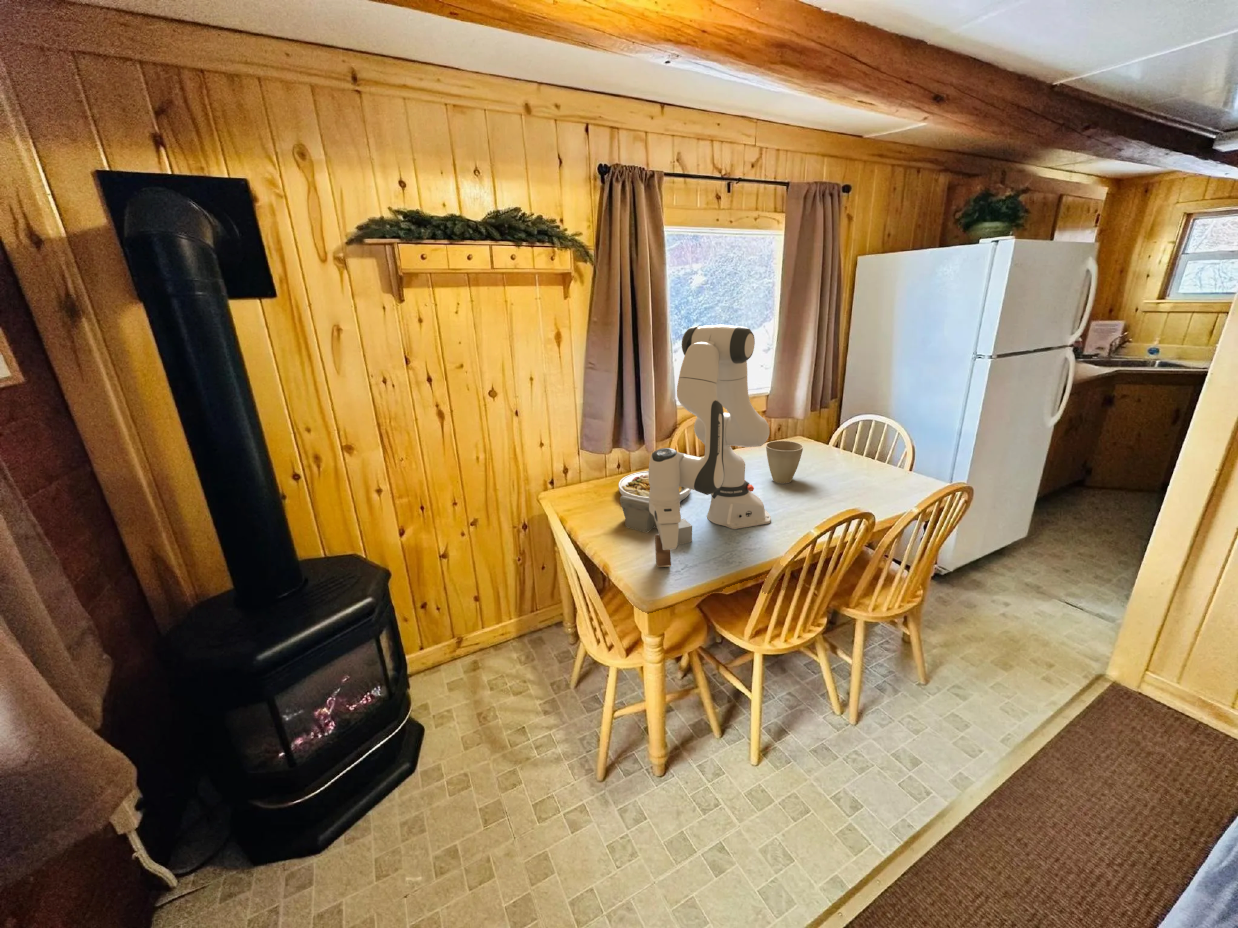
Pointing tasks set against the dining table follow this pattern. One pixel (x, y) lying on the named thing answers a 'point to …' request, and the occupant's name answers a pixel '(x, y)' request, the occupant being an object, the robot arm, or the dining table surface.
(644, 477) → the bowl
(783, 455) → the plant pot
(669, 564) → the walnut post
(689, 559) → the dining table surface
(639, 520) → the digital clock
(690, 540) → the grey cube
